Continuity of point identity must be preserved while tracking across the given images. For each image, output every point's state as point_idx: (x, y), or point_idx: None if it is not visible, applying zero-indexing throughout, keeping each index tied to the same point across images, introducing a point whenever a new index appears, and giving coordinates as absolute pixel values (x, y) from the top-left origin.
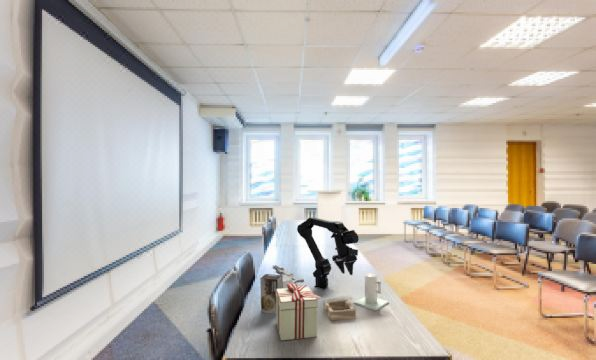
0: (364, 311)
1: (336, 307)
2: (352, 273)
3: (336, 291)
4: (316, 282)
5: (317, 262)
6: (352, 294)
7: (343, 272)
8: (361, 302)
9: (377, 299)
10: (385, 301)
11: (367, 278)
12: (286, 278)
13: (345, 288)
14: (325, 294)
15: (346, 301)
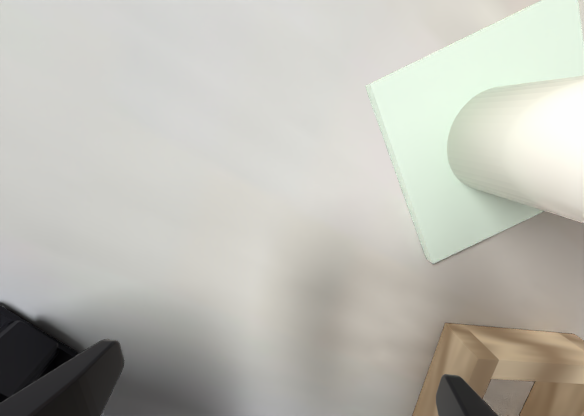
0: (548, 252)
1: None
2: (479, 397)
3: (164, 286)
4: None
5: None
6: (273, 190)
7: (111, 372)
8: (468, 220)
9: (493, 58)
10: (561, 14)
11: None
12: None
13: (112, 181)
14: (199, 378)
15: (499, 370)
